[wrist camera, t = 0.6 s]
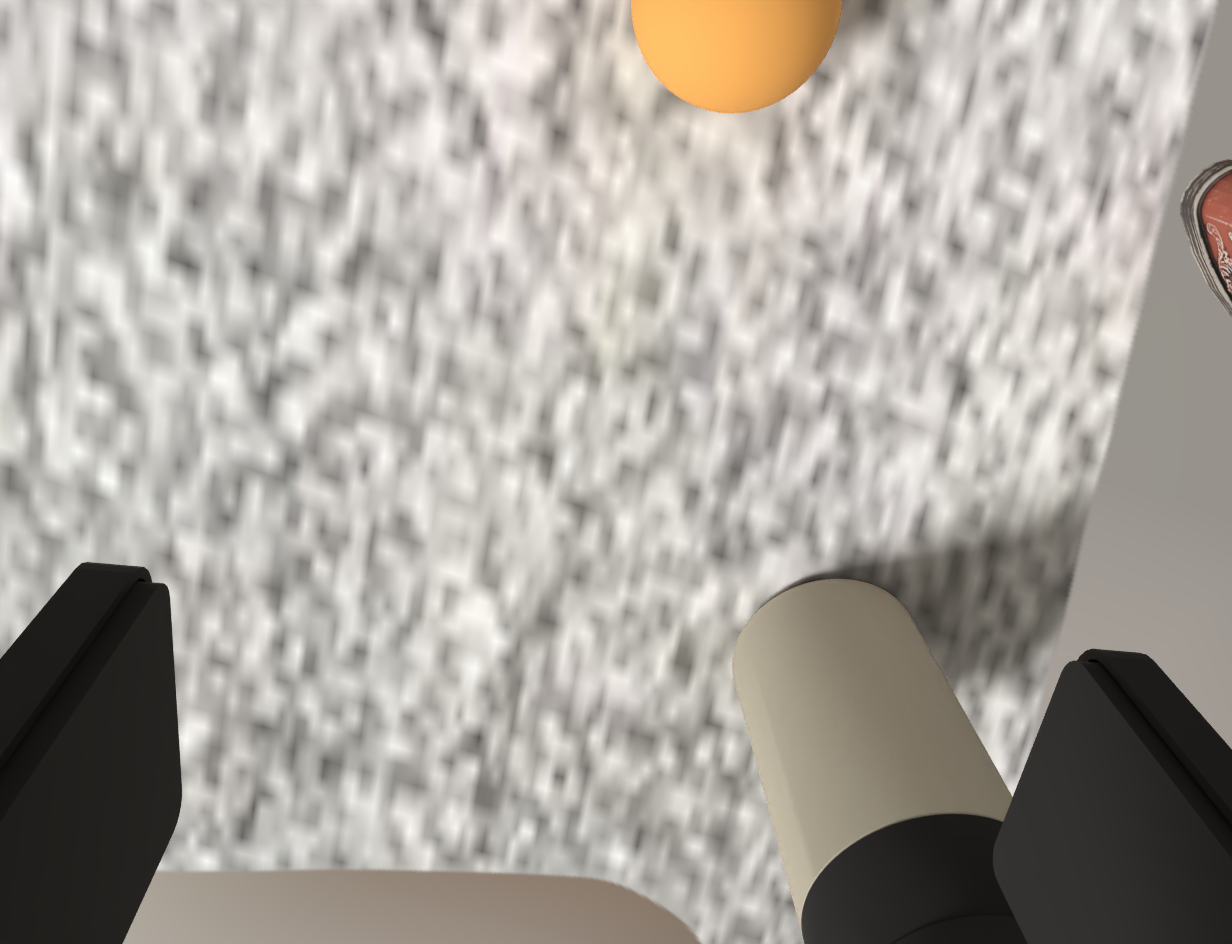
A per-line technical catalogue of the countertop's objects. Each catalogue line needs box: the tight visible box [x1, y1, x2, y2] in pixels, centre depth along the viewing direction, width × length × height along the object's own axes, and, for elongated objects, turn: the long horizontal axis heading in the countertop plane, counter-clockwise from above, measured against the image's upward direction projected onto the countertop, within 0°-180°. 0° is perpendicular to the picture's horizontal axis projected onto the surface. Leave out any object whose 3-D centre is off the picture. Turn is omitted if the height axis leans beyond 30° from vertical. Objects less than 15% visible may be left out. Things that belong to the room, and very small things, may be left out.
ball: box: [631, 0, 842, 113], centre depth 29 cm, size 6×6×6 cm
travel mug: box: [732, 579, 1028, 944], centre depth 36 cm, size 8×8×18 cm
